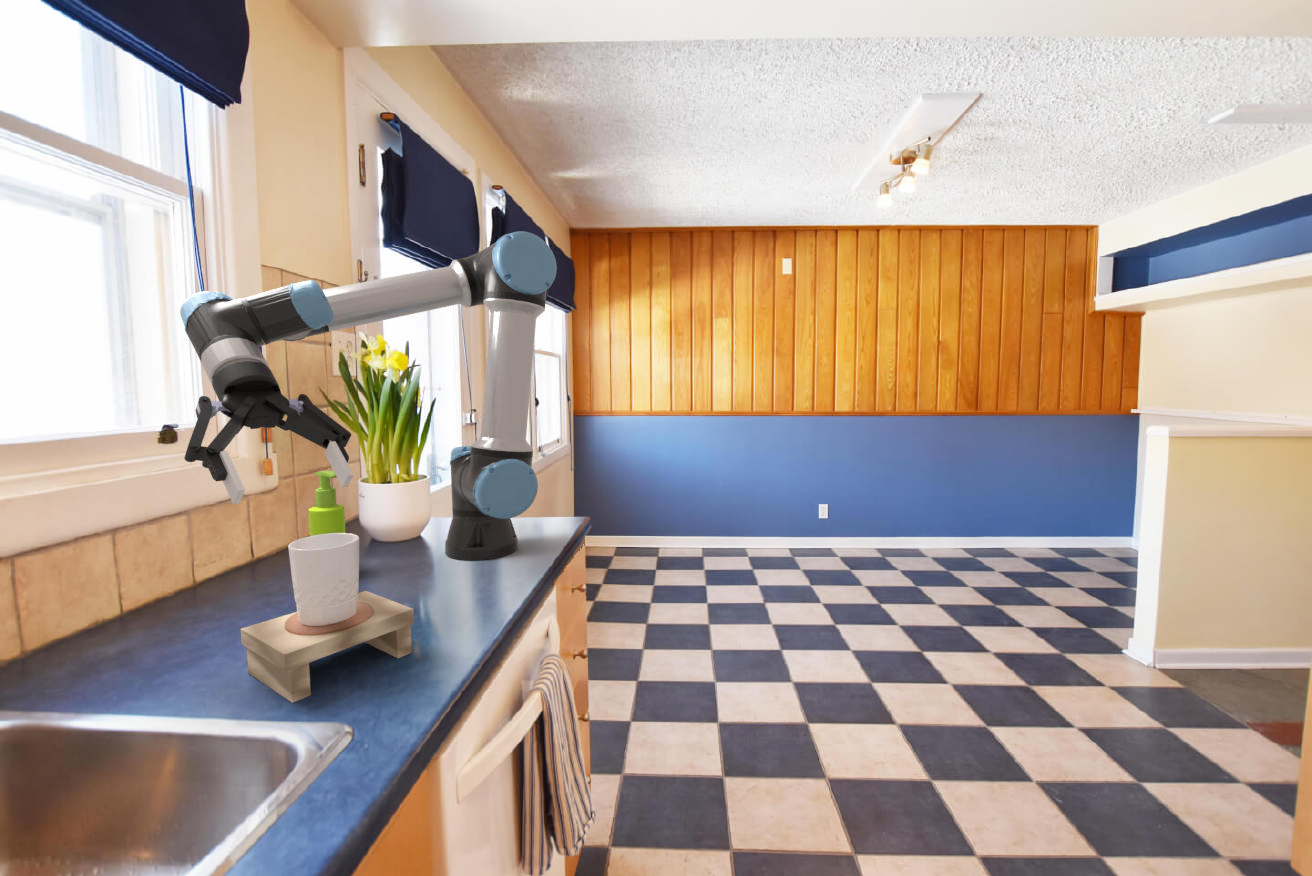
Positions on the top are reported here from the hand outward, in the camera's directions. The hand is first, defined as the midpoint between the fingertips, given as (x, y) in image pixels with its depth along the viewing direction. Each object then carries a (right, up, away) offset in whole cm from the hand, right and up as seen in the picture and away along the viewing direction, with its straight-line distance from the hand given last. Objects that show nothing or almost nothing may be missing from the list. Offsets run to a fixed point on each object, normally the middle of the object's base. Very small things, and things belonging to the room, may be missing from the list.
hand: (297, 488), depth 78 cm
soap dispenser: (-13, -19, +32) cm, 40 cm away
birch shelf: (+6, -23, -2) cm, 23 cm away
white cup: (+6, -17, -3) cm, 18 cm away
